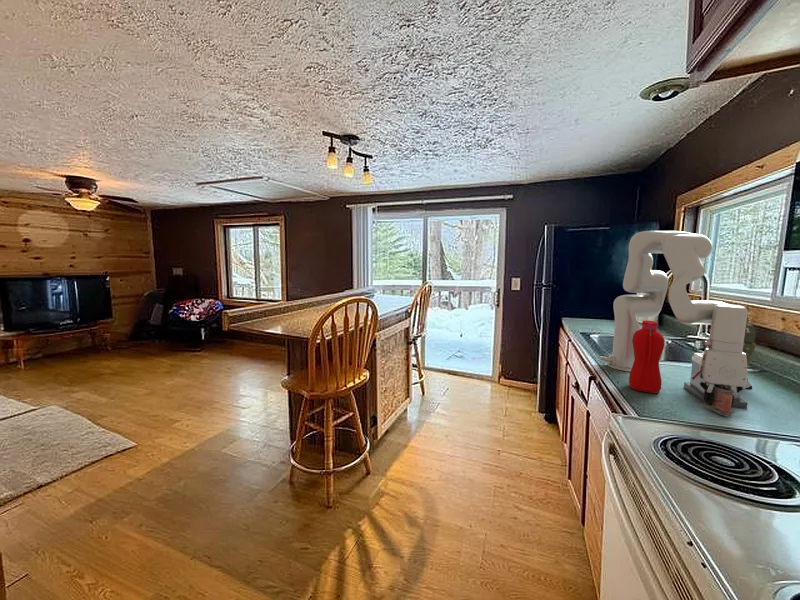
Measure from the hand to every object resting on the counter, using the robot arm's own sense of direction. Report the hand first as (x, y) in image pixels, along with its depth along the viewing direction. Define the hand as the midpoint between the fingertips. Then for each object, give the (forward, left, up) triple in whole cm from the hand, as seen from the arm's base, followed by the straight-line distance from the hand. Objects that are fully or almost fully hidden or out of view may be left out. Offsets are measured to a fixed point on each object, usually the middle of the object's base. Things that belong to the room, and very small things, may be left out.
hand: (717, 404), depth 108 cm
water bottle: (-15, +15, -3) cm, 22 cm away
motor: (+5, +15, -3) cm, 17 cm away
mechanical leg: (+19, +35, -3) cm, 40 cm away
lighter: (0, 0, -2) cm, 2 cm away
